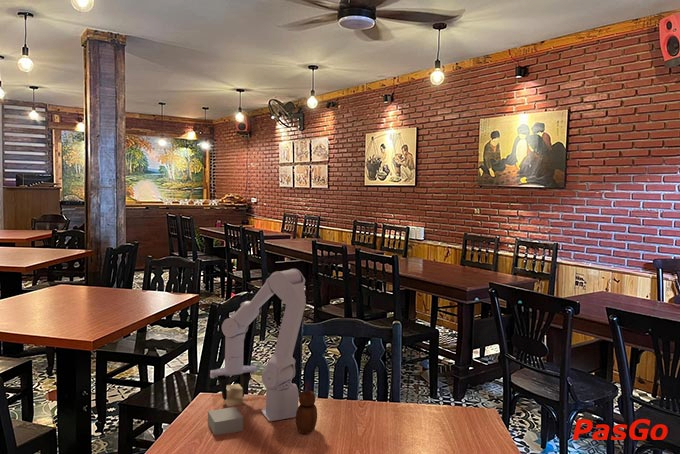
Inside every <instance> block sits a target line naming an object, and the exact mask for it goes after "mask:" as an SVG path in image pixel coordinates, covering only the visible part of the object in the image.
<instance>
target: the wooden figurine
mask: <svg viewBox="0 0 680 454" xmlns="http://www.w3.org/2000/svg"><path fill="white" fill-rule="evenodd" d="M298 403H299V404H298V408H297V411H296V417H295V426H296V428H297V430H298V432H299V433H301V434H305V435H306V434H311V433H313V432H314V431H315V429H316V426H317V422H318V409H317V406H316V405H315V403H316V394H315V391H312V390H310V380H307V382H306V384H305V390H303V391H301V392H299V401H298Z"/></svg>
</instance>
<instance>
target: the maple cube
mask: <svg viewBox="0 0 680 454" xmlns="http://www.w3.org/2000/svg"><path fill="white" fill-rule="evenodd" d="M243 399H244V397H243V388H242V387H241V386H240V384H239V383H234V384H227V386H226V400H224V399H223V402H224V404H225V405H226V406H227V407H235V406H240V405H243V403H244V402H243V401H244V400H243Z"/></svg>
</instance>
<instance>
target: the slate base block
mask: <svg viewBox="0 0 680 454" xmlns="http://www.w3.org/2000/svg"><path fill="white" fill-rule="evenodd" d="M207 425H208V427H209V428H210V430H211V432H212V434H213V436H220V435H224V434H225V435H226V434H231V433H237V432H242V431H244V416H243V415H242V414H241V412H240V411H239V410H238V408H237V407H236V406H230V407H225V408H219V409H214V410H208V411H207Z"/></svg>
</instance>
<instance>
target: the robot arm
mask: <svg viewBox="0 0 680 454" xmlns="http://www.w3.org/2000/svg"><path fill="white" fill-rule="evenodd" d="M305 284H306V278H305V277H304V275H303V273H302V272H301V271H300V270H299V269H297V268H290V269H287V270H282V271H281V270H280V271H279V270H278V271H277V270H276V271H274V272H272V273H271V274H270V276H269V277H267V278H266V279H265V282H264V284H263V285H262V287H261V288H260V289H259V290H258V291H257V293H255V295H254V297H252V299H251V300H246V301H243V302H241V303H240V305H239V306H240V307H239V308H238V309H237V310H236V311H235V312H233V313H232V314H231V317H230V318H226V319H224V320H223V322H222V324H221V332H222V333H223V335H224V336H225V342H224V343H225V344H224V345H225V346H224V347H225V348H224V367H221V368H216V369H211V370H209V371H210V372H209V377H210V379H215V378H216V380H217V382H218V385H219V387H220V388H219V389H220V390H221V398H222V399H223V401H224V400H226V386H227V385H228V380H227V377H229V376H237V375H238V376H239V380H240V382H239V383H240V384H239V385H240V386H241V387H242V388H243V398H244V397H245V394H246V390H247V387H248V385H249V383H250V381H251V380H252V375H251V374H257V373H258V371H257V370H258V367H257V366H256V365H244V347H245V343H244V342H245V338H246V333H247V332H248V330H249V325H251V323H252V322H253V321H254V320H256V318H257V317H258V316H259V315H260V308H261V307H262V306H263V305H264V304H265V303H266V302H267V301H268V300H270V299H271V297H273V296H274V294H275V295H276V296H277V297H278V298H279V299H280V300H281V301H282V302H283V303H284V304H285V309H284V313H283V315H282V321H281V324H280V328H279V332H278V336H277V341H276V344H275V347H274V353H273V355H272V356H271V357H270V359H269V360H268V361H267V363H266V367H265V368H264V369H263V370H262V372H261V381H262V384H263V385H264V386H265V387H264V388H266V389H265V408H263V409H260V412H261V413H262V414H263V415H264V417H265V418H266V420H267V421H268V422H273V421H281V420H286V419H292V418H296V411H297V408H298V407H299V396H300V392H299V388H298V386H297V384H296V383H292V380H293V379H294V378H295V376H296V362H297V361H296V359H295V358H294V357H293V355H294V351H295V347H296V343H297V339H298V335H299V331H300V327H301V323H302V320H303V316H304V312H305V308H306V302H307V298H306V292H305Z"/></svg>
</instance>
